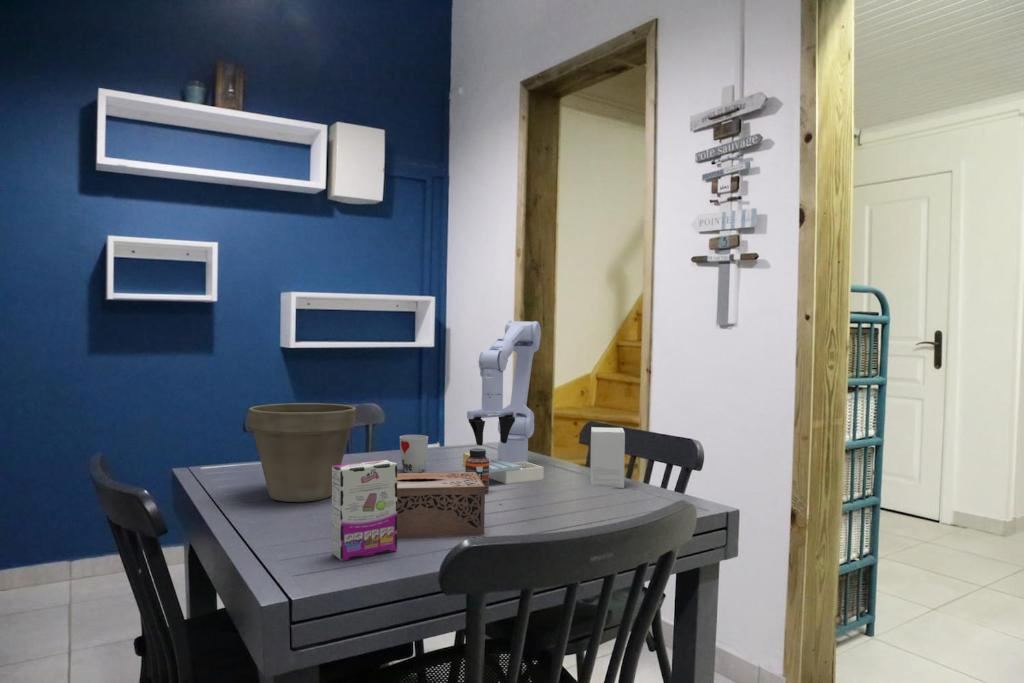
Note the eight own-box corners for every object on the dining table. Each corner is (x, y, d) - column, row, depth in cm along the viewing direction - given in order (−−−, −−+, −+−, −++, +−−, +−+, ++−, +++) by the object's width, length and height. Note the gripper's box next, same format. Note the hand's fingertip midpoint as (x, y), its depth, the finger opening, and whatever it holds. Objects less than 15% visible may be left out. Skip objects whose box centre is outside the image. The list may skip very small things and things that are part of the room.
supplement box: (622, 481, 198) (624, 427, 197) (624, 488, 189) (625, 431, 189) (589, 480, 199) (590, 426, 198) (590, 487, 190) (591, 430, 189)
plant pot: (305, 480, 191) (306, 399, 191) (375, 492, 179) (376, 405, 178) (224, 498, 170) (226, 407, 170) (298, 514, 157) (299, 415, 157)
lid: (456, 467, 191) (457, 451, 191) (501, 462, 199) (502, 447, 199) (474, 473, 183) (475, 457, 183) (520, 469, 191) (521, 452, 191)
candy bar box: (385, 544, 137) (387, 458, 136) (397, 551, 133) (399, 463, 132) (329, 554, 130) (330, 464, 130) (340, 562, 126) (341, 469, 126)
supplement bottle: (485, 498, 175) (486, 451, 175) (462, 496, 176) (462, 450, 176) (491, 492, 181) (492, 448, 181) (468, 491, 182) (469, 446, 182)
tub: (488, 479, 196) (488, 465, 196) (525, 475, 203) (525, 461, 203) (506, 486, 189) (506, 471, 189) (543, 481, 195) (543, 467, 195)
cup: (395, 469, 207) (396, 435, 207) (422, 467, 211) (423, 434, 211) (403, 475, 200) (404, 439, 200) (431, 473, 204) (432, 438, 203)
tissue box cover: (353, 540, 140) (354, 489, 140) (355, 520, 154) (356, 474, 154) (484, 535, 145) (485, 486, 144) (474, 517, 159) (475, 472, 159)
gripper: (476, 396, 188) (475, 448, 188) (522, 394, 195) (521, 443, 196) (463, 394, 193) (462, 444, 194) (509, 391, 201) (508, 440, 202)
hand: (491, 443), depth 195 cm, fingers open, 7 cm apart
